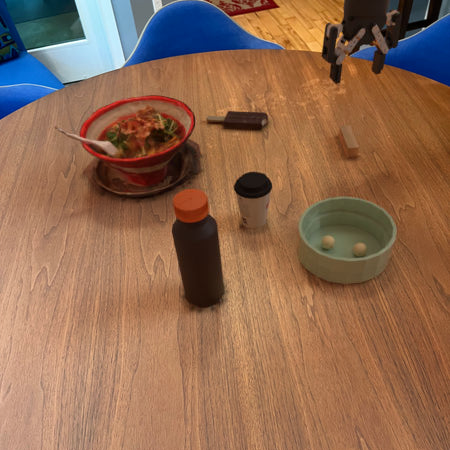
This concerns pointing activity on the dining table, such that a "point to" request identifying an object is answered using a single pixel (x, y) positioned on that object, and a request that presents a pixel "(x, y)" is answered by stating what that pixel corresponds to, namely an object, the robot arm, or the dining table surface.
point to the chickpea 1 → (327, 242)
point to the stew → (140, 145)
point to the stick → (348, 141)
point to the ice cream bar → (242, 120)
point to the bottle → (197, 248)
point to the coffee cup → (253, 198)
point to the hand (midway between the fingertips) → (356, 77)
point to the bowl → (345, 239)
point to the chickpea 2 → (359, 249)
